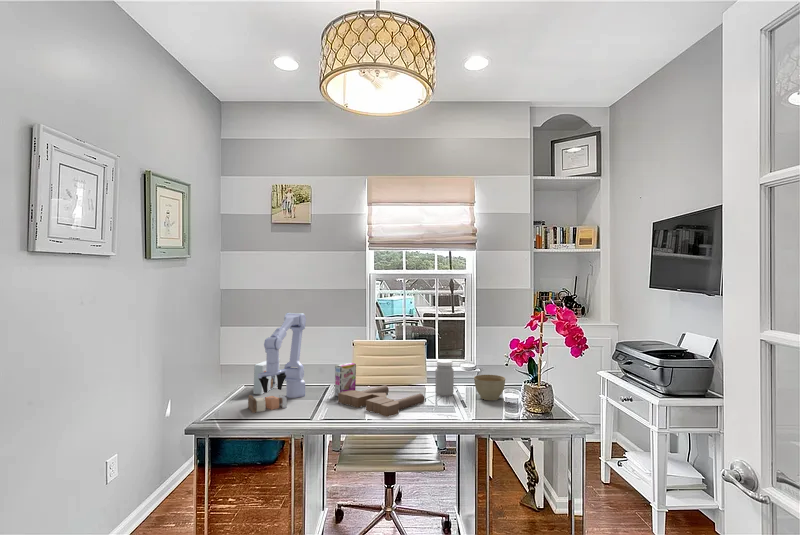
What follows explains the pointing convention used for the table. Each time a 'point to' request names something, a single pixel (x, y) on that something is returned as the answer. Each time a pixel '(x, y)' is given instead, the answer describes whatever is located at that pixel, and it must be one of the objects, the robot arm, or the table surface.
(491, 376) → the planter bowl
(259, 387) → the skincare box
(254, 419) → the table surface
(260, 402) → the cream book
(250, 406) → the wooden shelf
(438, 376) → the jar
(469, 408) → the table surface
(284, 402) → the grey rectangular block
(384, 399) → the bookends
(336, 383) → the candy bar box
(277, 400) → the salmon orange block
